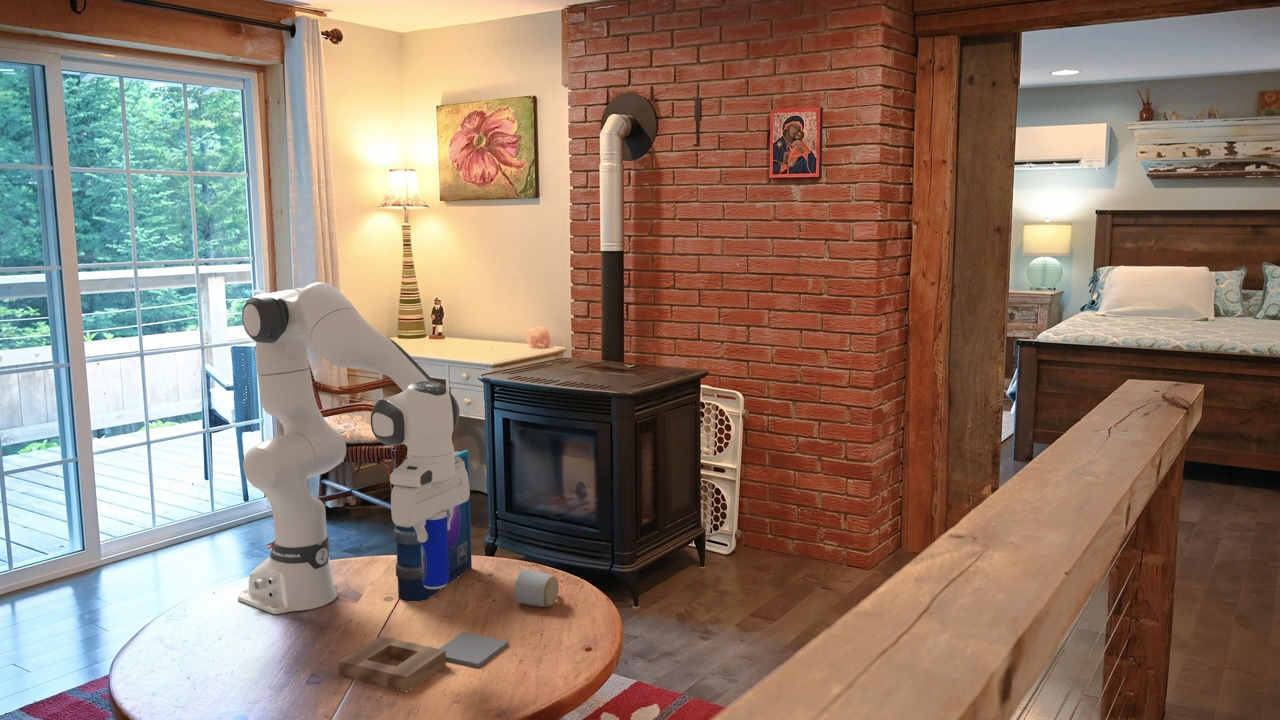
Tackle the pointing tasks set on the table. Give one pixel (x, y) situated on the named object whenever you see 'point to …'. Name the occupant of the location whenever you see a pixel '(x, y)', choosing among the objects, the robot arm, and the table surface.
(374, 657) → the walnut caddy
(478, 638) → the rubber mat
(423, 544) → the beverage can
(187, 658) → the table surface
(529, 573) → the ceramic mug
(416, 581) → the book
